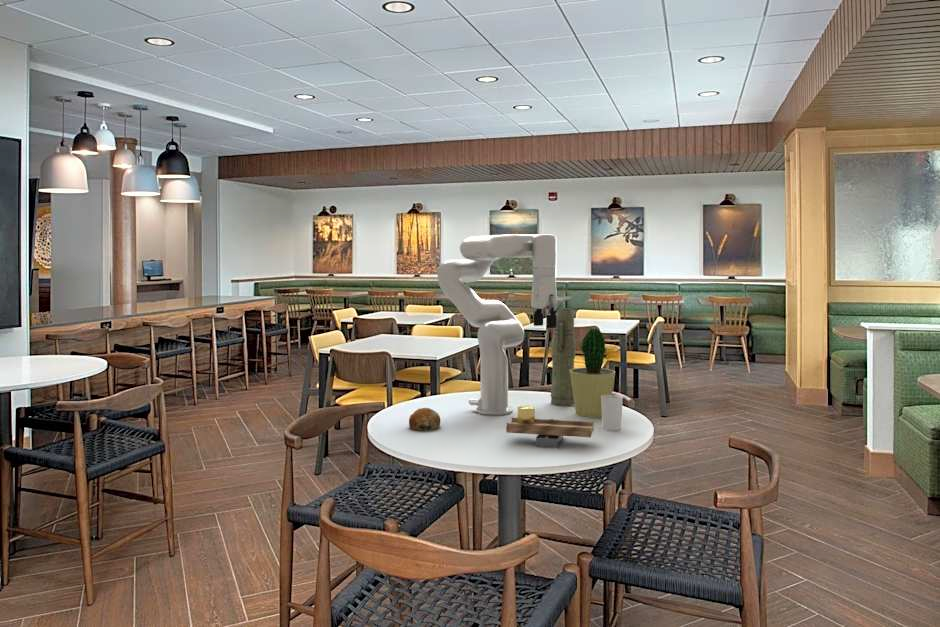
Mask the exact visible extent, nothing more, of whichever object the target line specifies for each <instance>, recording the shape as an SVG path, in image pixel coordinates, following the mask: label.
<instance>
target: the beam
mask: <svg viewBox="0 0 940 627" xmlns="http://www.w3.org/2000/svg"><path fill="white" fill-rule="evenodd" d="M594 429H595V428H594V421H589V420H588V421H587V420H572V419H571V420H569V419H567V420H566V419H554V418H535V424H521V423H518V417H514V416H512V417H511V421H510V422H506V428H505V431H506V433H508V434H509V433H510V434H523V435H524V434H525V435H556V436H563V437H575V438H592V434H593V432H594Z"/></svg>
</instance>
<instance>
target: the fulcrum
mask: <svg viewBox="0 0 940 627" xmlns="http://www.w3.org/2000/svg"><path fill="white" fill-rule="evenodd" d="M563 439H564V436H556V435H539V434H537V436H536V440H535V443H536V444H535V447H537V448H551V449H558V448H559V446H560V445H561V443H562V441H563Z"/></svg>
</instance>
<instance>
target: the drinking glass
mask: <svg viewBox="0 0 940 627" xmlns="http://www.w3.org/2000/svg"><path fill="white" fill-rule="evenodd" d="M623 401H624V397H623V396H622V395H618V394H612V395H603V396H601V405H602V417H601V428H602V429H603V430H606V431H620V430H621V429H622V420H623V419H622V416H623Z"/></svg>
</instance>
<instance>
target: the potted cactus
mask: <svg viewBox="0 0 940 627" xmlns="http://www.w3.org/2000/svg"><path fill="white" fill-rule="evenodd" d="M604 335H605V334H604V332H603V331H601V329H599V328H592V327H590V329H588V330H586V331H585V332H584V336H583V338H582V341H581V342H580V344H579V345H578V346H579V347H580V349H581V352H580V353H582V354H581V356H582V358H583V359H582V362H583V364H584V366H585V367H577V368H574V369H571V370H570V375H571V382H572V390H573V397H574V405H573V406H574V411H575V415H577V416H581V417H585V418H602V405H601V396H603V395H613V390H614V384H615V377H616V371H615V370H613V369H611V368H609V369H608V368H604V367H603V364H604V360H605V359H606V358H607V357H606V356H605V354H606V353H607V349H608V347H607V346H606V336H604ZM607 354H608V353H607Z"/></svg>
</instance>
